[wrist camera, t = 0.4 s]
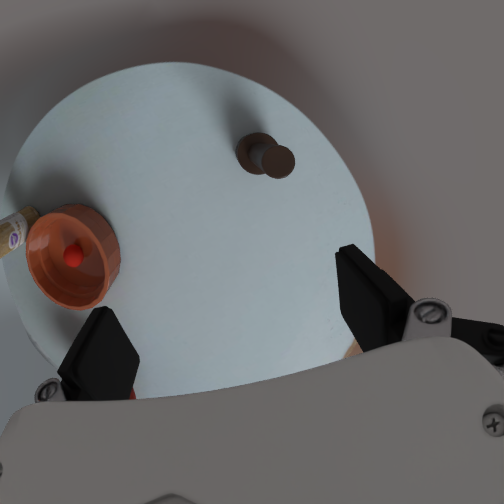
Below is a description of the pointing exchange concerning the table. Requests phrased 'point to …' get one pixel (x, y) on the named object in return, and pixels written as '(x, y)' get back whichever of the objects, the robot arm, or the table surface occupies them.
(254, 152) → the brown wooden peg
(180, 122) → the table surface
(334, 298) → the table surface
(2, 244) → the sprinkles bottle
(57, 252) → the bowl
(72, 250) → the berry
